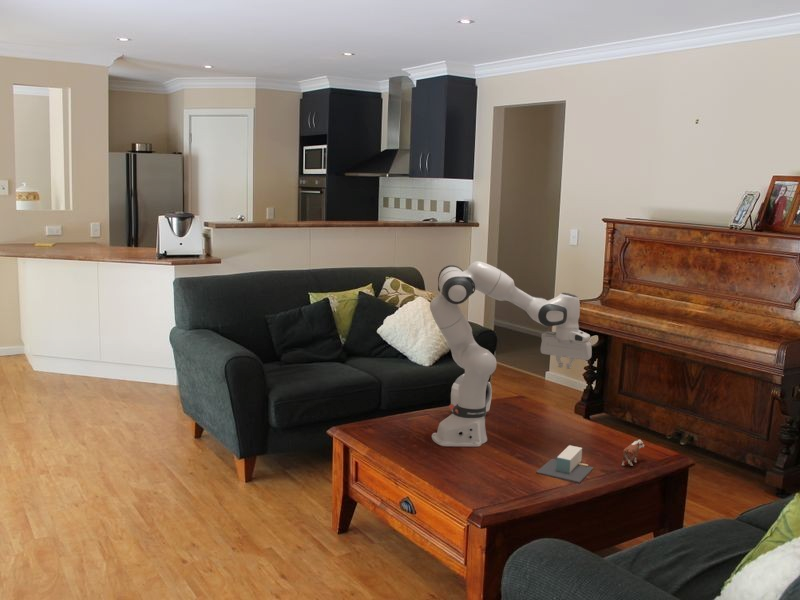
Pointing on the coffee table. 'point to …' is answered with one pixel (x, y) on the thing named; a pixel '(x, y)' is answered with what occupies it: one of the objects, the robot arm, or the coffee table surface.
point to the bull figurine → (632, 451)
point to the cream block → (569, 459)
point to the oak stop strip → (583, 464)
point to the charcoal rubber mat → (573, 476)
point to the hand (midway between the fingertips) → (564, 367)
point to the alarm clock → (455, 393)
